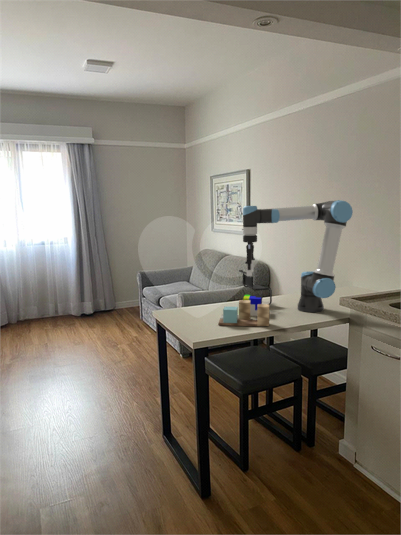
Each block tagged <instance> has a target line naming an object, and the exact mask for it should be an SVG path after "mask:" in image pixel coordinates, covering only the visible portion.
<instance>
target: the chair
mask: <svg viewBox="0 0 401 535" xmlns="http://www.w3.org/2000/svg"><path fill="white" fill-rule="evenodd" d="M238 272H239V273H241V274H242V286H243V287H245V288H250V289H251V290H252V291H256V292H257V291H260V295H262V299H263V291H266V290H269V303H268V304H269V306H271V304H272V302H273V301H272V300H273V292H272V288H270V287H264V286H262V285H261V284H254V275H253V273H252V276H247V271H244V270H243V269H239V270H238Z"/></svg>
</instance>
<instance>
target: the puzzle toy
mask: <svg viewBox="0 0 401 535" xmlns="http://www.w3.org/2000/svg"><path fill="white" fill-rule="evenodd" d="M242 300H250V317H251V316H253V317H257V305H258V304H263V298H262V295H261V294H244V296H243V298H242Z"/></svg>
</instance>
